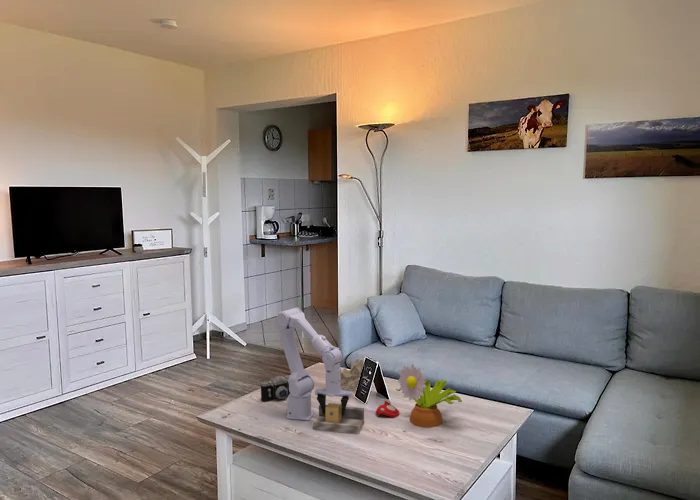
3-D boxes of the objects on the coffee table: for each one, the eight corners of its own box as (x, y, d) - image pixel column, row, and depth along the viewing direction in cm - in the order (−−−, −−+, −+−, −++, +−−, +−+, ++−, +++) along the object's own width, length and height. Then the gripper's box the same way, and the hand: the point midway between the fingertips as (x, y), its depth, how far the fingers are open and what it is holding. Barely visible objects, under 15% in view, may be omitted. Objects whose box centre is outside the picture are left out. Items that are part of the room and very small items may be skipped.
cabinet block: (325, 423, 199) (324, 408, 198) (329, 417, 204) (329, 402, 204) (337, 425, 197) (337, 409, 197) (341, 418, 203) (341, 404, 202)
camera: (265, 405, 222) (265, 382, 221) (259, 400, 228) (259, 378, 227) (296, 398, 230) (296, 376, 229) (290, 393, 236) (289, 371, 235)
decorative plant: (384, 420, 206) (383, 359, 203) (419, 402, 223) (419, 345, 220) (442, 441, 187) (442, 374, 185) (475, 419, 205) (476, 358, 202)
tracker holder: (404, 413, 210) (384, 412, 205) (401, 422, 211) (381, 422, 206) (390, 396, 220) (370, 395, 215) (386, 405, 221) (367, 405, 216)
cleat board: (312, 429, 198) (312, 414, 198) (320, 418, 208) (320, 404, 207) (358, 434, 194) (358, 418, 193) (364, 422, 204) (363, 408, 203)
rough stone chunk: (372, 381, 249) (369, 351, 247) (359, 395, 234) (356, 363, 232) (342, 379, 255) (339, 350, 253) (328, 392, 240) (325, 361, 238)
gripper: (312, 382, 198) (312, 416, 199) (348, 385, 194) (349, 419, 195) (317, 375, 204) (318, 408, 206) (353, 378, 201) (353, 412, 202)
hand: (333, 413), depth 201 cm, fingers open, 7 cm apart
